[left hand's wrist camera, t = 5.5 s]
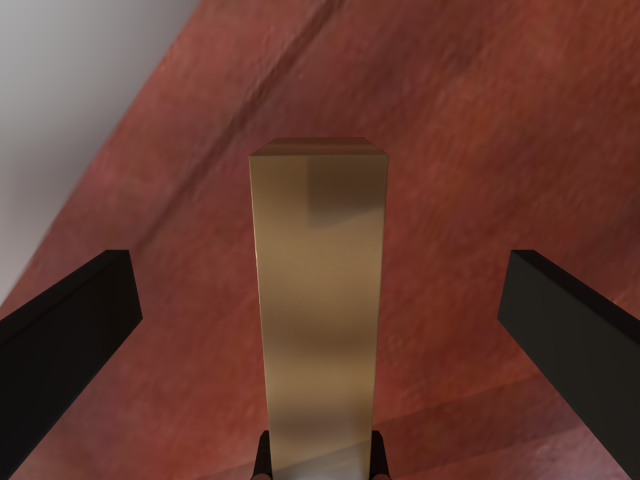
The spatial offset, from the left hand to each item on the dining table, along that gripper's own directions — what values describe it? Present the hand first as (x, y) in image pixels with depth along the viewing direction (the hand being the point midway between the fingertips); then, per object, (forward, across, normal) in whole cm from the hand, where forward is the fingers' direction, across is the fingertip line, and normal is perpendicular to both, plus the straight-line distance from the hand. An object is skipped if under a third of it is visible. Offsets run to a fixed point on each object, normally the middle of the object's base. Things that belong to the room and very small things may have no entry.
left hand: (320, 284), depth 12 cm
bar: (+10, 0, -7) cm, 12 cm away
